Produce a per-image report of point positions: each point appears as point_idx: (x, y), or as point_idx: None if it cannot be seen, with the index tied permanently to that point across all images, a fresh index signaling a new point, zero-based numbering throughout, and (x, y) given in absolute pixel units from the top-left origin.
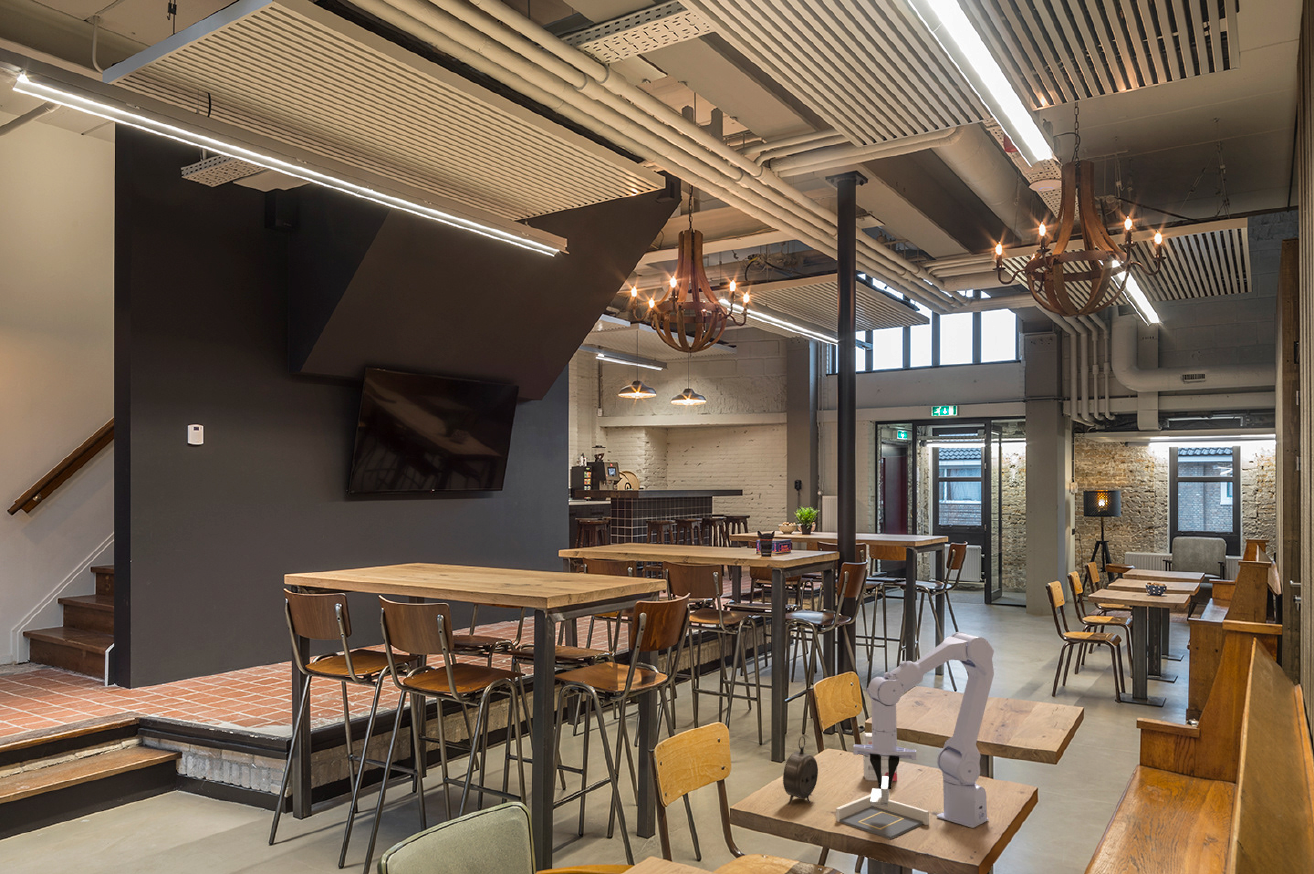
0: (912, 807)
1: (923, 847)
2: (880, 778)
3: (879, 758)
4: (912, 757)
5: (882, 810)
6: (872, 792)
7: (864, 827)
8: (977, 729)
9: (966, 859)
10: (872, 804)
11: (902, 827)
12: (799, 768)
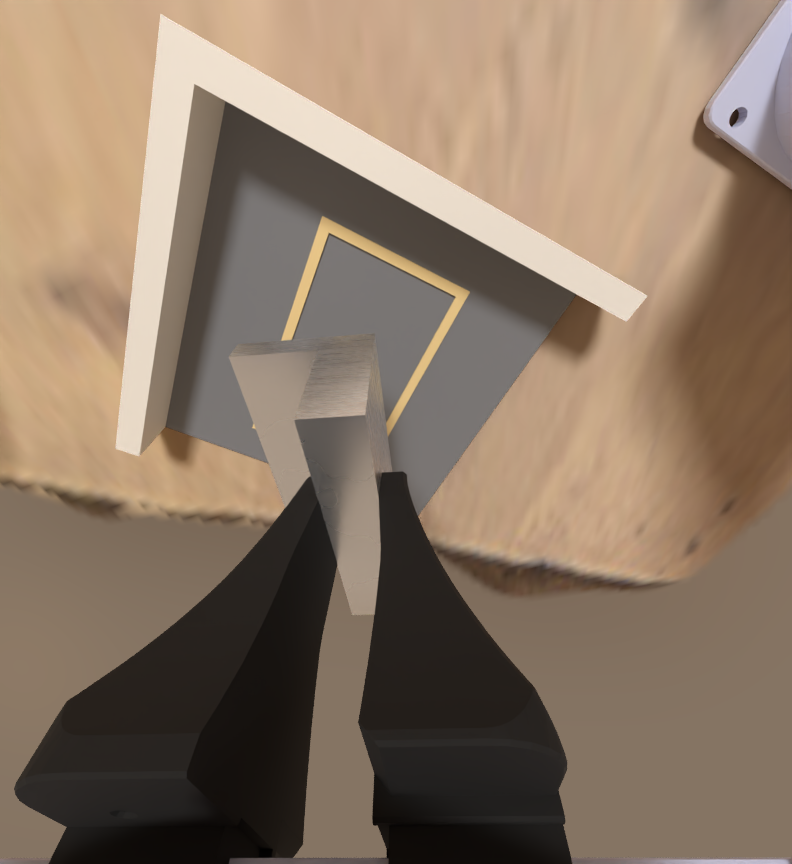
0: (540, 263)
1: (535, 530)
2: (323, 609)
3: (263, 847)
4: None
5: (321, 180)
6: (264, 430)
7: None
8: None
9: (666, 564)
10: None
11: (461, 415)
12: None
